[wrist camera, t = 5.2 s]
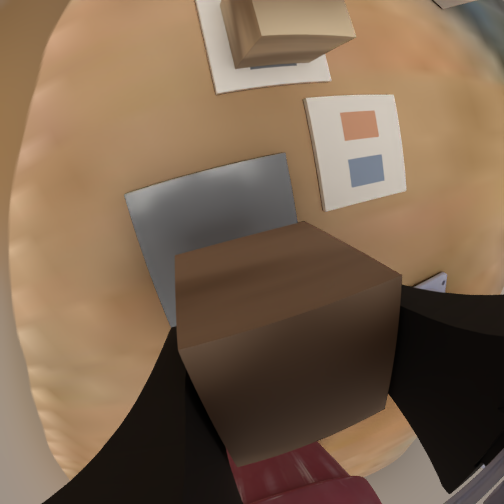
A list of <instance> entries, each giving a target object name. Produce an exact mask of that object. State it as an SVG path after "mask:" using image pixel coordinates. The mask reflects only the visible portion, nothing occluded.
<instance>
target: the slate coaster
mask: <svg viewBox="0 0 504 504" xmlns="http://www.w3.org/2000/svg"><path fill="white" fill-rule="evenodd" d="M124 196H125V199H126V203H127V206H128V210H129V213H130V216H131V220H132V223H133V226H134V229H135V232H136V235H137V238H138V241H139V244H140V247H141V250H142V253H143V256H144V259H145V262H146V265H147V267H148V270H149V273H150V276H151V278H152V281H153V284H154V286H155V289H156V292H157V294H158V297H159V299H160V302H161V304H162V307H163V309H164V312H165V314H166V317H167V319H168V321H169V324H170V326H171V328H172V327H175V326H177V325H176V301H175V255H178V254H182V253H185V252H189V251H193V250H196V249H200V248H204V247H207V246H211V245H215V244H219V243H222V242H226V241H230V240H234V239H237V238H241V237H245V236H249V235H253V234H256V233H260V232H264V231H268V230H272V229H276V228H280V227H283V226H287V225H291V224H295V223H298V221H297V215H296V209H295V203H294V198H293V192H292V186H291V181H290V175H289V170H288V165H287V160H286V154H285V153H278V154H273V155H268V156H263V157H259V158H254V159H249V160H245V161H240V162H236V163H232V164H228V165H224V166H219V167H215V168H211V169H208V170H204V171H200V172H196V173H192V174H189V175H185V176H181V177H178V178H174V179H171V180H167V181H164V182H161V183H157V184H154V185H151V186H147V187H144V188H141V189H138V190H135V191H132V192H129V193H126V194H124Z"/></svg>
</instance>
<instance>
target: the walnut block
mask: <svg viewBox="0 0 504 504" xmlns="http://www.w3.org/2000/svg"><path fill="white" fill-rule="evenodd" d="M401 285H402V275H401V274H399V273H398V272H396V271H394V270H392V269H391V268H389V267H387V266H386V265H384V264H382V263H380V262H379V261H377V260H375V259H373V258H371V257H370V256H368V255H366V254H364V253H363V252H361V251H359V250H357V249H355V248H354V247H352V246H350V245H348V244H346V243H344V242H343V241H341V240H339V239H337V238H335V237H333V236H332V235H330V234H328V233H326V232H324V231H322V230H320V229H318V228H317V227H315V226H313V225H311V224H309V223H307V222H305V221H303V222H299V223H295V224H291V225H287V226H283V227H280V228H276V229H272V230H268V231H264V232H260V233H256V234H253V235H249V236H245V237H241V238H237V239H234V240H230V241H226V242H222V243H219V244H215V245H211V246H207V247H204V248H200V249H196V250H193V251H189V252H185V253H182V254H178V255H175V301H176V325H177V343H178V351H179V354H180V356H181V358H182V361H183V363H184V365H185V367H186V370H187V372H188V374H189V376H190V378H191V380H192V383H193V385H194V387H195V389H196V391H197V393H198V395H199V397H200V399H201V401H202V403H203V405H204V407H205V409H206V411H207V413H208V415H209V417H210V419H211V421H212V423H213V425H214V427H215V429H216V431H217V432H218V434H219V436H220V438H221V440H222V442H223V443H224V445H225V447H226V449H227V451H228V452H229V454H230V456H231V458H232V459H233V461H234V463H235V464H236V466H237V467H240V466H244V465H248V464H251V463H255V462H258V461H262V460H265V459H268V458H272V457H275V456H278V455H281V454H284V453H287V452H289V451H292V450H295V449H298V448H301V447H303V446H306V445H308V444H311V443H313V442H316V441H318V440H321V439H323V438H326V437H328V436H330V435H333V434H335V433H337V432H339V431H342V430H344V429H346V428H348V427H350V426H352V425H354V424H356V423H358V422H360V421H362V420H364V419H366V418H368V417H370V416H372V415H374V414H376V413H378V412H380V411H382V410H383V409H385V405H386V400H387V395H388V390H389V385H390V380H391V374H392V368H393V362H394V355H395V348H396V341H397V332H398V323H399V313H400V301H401Z"/></svg>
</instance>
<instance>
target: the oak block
mask: <svg viewBox="0 0 504 504" xmlns="http://www.w3.org/2000/svg"><path fill="white" fill-rule="evenodd" d="M220 9H221V13H222V17H223V21H224V25H225V29H226V33H227V37H228V41H229V45H230V50H231V54H232V58H233V62H234V67H235V69H240V68H248V67H256V66H266V65H277V64H292V63H310V62H311V61H313V60H315V59H317V58H318V57H320V56H322V55H324V54H325V53H327V52H329V51H331V50H333V49H335V48H336V47H338V46H340V45H342V44H344V43H346V42H348V41H350V40H352V39H354V38H356V34H355V31H354V28H353V25H352V22H351V18H350V15H349V13H348V10H347V7H346V4H345V1H344V0H221V3H220Z"/></svg>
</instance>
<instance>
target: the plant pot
mask: <svg viewBox="0 0 504 504" xmlns="http://www.w3.org/2000/svg"><path fill="white" fill-rule="evenodd" d="M226 451H227V449H226ZM227 455H228V460H229V464H230V467H231V470H232V473H233V476H234V479H235V482H236V485H237V488H238V491H239V494H240V496H241V499H242V502H243V504H382V503H381V502H380V500H379V498H378V496H377V495H376V493H375V491H374V490H373V488H372V487H371V485H370V484H369V483H368V481H367V480H366V479H365V478H363V477H360V476H350V475H349V474H348V473H347V472H346V471H345V470H344V469H343V468H342V467H341V466H340V465H339V463H338V462H337V461H336V460H335V459H334V458H333V457H332V456H331V455H330V454H329V453H328V452H327V451H326V450H325V449H324V448H323V447H322V446H321V445H320V444H319V443H318V442H317V441H316V442H313V443H311V444H308V445H306V446H303V447H301V448H298V449H295V450H292V451H289V452H287V453H284V454H281V455H278V456H275V457H272V458H268V459H265V460H262V461H258V462H255V463H251V464H248V465H244V466H240V467H237V466H236V464H235V463H234V461H233V459H232V458H231V456H230V454H229V452H228V451H227Z"/></svg>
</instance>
